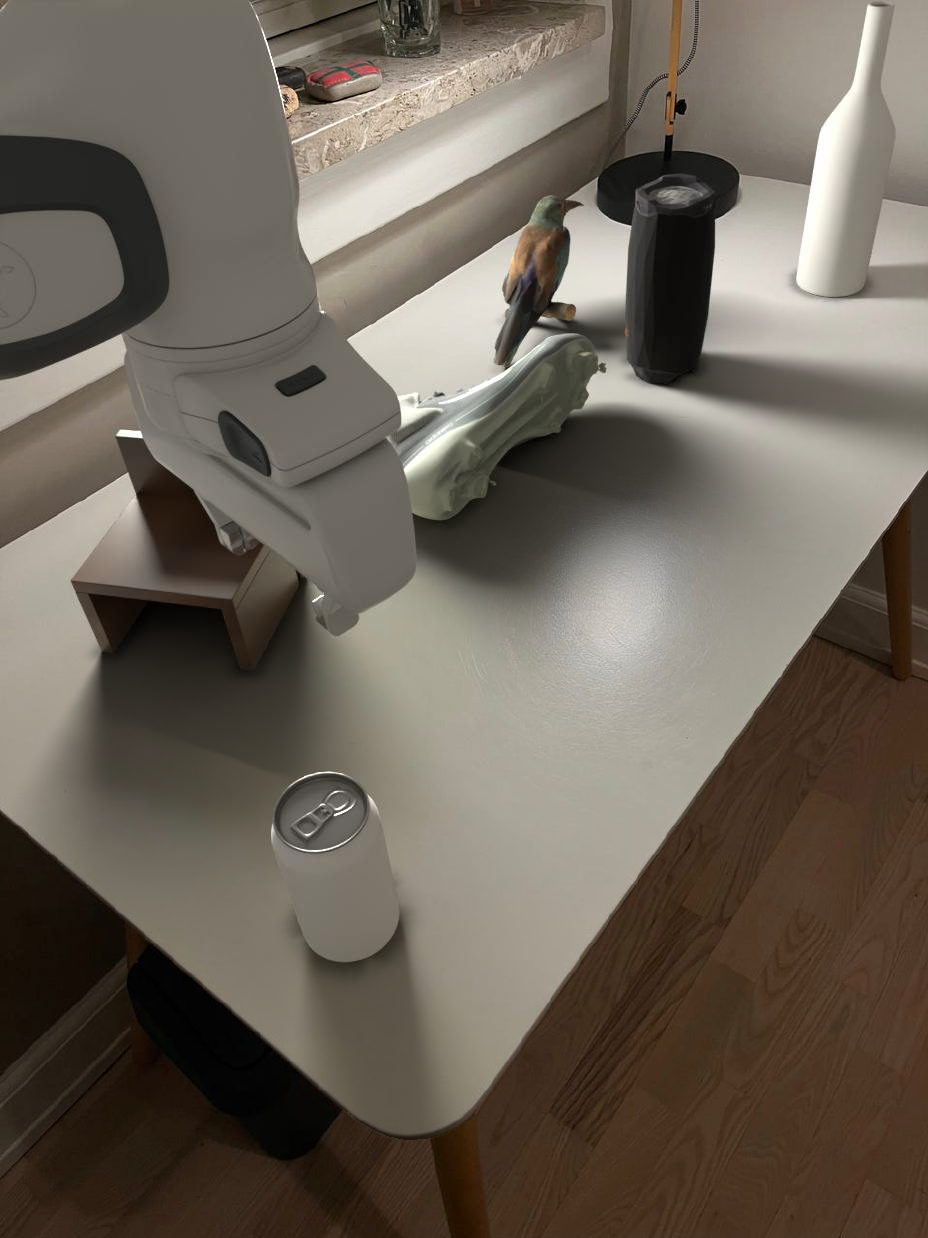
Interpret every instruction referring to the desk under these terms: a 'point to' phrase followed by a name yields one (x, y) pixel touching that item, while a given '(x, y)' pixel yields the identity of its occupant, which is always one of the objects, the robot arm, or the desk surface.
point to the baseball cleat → (488, 423)
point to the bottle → (850, 173)
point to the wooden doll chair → (178, 564)
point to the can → (335, 866)
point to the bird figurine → (535, 276)
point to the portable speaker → (669, 276)
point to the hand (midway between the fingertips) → (287, 583)
